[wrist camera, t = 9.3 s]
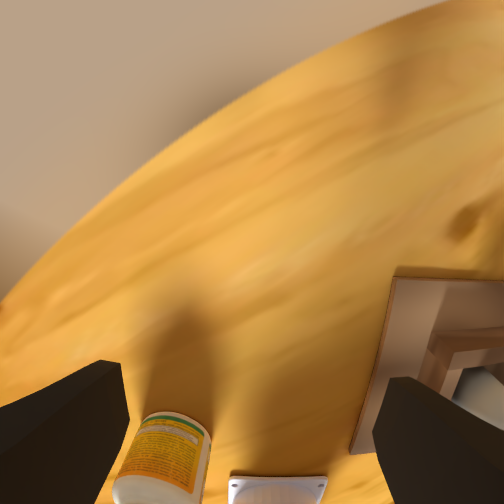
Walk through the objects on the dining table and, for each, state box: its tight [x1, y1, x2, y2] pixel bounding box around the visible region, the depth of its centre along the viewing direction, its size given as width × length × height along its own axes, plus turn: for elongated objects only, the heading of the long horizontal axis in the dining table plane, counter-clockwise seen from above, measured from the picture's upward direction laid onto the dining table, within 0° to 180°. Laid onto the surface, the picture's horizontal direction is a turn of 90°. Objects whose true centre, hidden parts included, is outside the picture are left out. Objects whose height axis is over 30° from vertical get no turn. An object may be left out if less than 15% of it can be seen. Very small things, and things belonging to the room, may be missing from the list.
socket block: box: [349, 277, 504, 455], centre depth 17 cm, size 14×14×4 cm
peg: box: [451, 366, 504, 430], centre depth 14 cm, size 3×3×10 cm
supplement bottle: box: [112, 412, 211, 504], centre depth 16 cm, size 5×5×10 cm
